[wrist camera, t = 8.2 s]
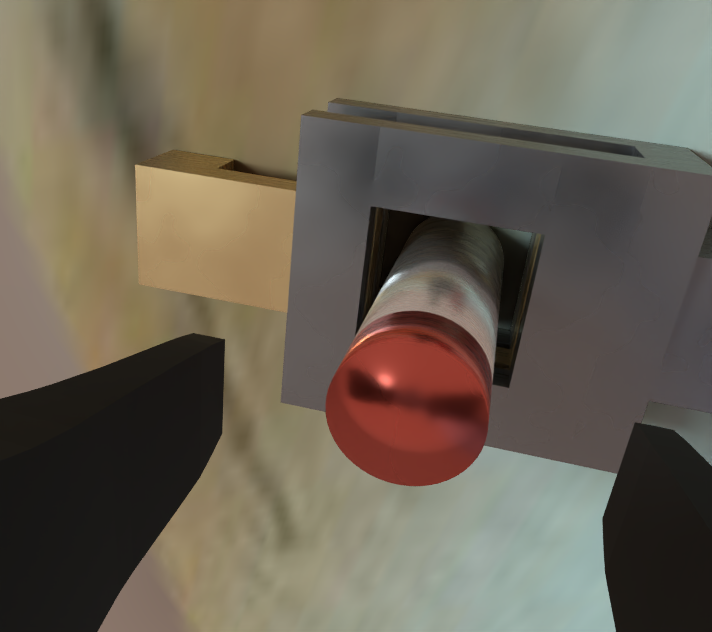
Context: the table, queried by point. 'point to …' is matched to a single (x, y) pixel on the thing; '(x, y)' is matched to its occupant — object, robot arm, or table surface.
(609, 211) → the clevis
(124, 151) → the table surface
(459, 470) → the clear red-capped cylinder
